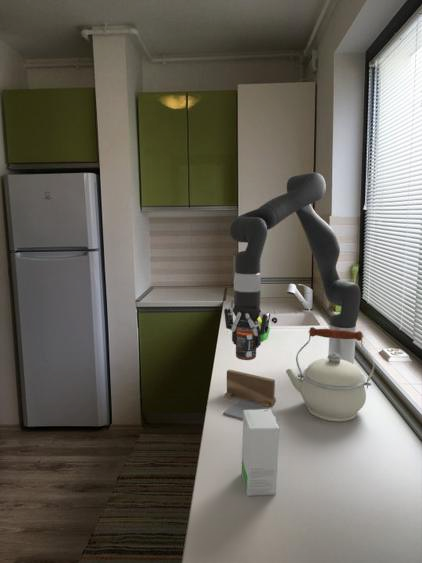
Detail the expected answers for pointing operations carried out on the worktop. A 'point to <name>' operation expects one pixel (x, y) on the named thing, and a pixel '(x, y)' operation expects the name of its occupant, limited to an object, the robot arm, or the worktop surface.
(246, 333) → the supplement bottle
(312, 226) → the robot arm
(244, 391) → the wooden panel
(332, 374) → the kettle
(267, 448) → the skincare box
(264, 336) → the fruit basket
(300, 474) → the worktop surface
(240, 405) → the mat
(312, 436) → the worktop surface
